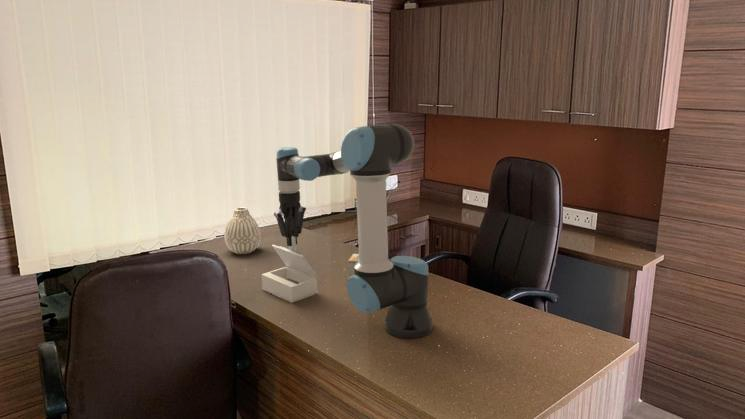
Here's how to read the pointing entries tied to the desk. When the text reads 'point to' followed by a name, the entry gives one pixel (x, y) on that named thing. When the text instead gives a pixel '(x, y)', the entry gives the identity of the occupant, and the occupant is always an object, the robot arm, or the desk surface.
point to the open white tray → (289, 284)
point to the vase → (242, 232)
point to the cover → (294, 260)
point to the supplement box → (352, 264)
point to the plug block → (292, 281)
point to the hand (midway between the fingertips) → (292, 253)
